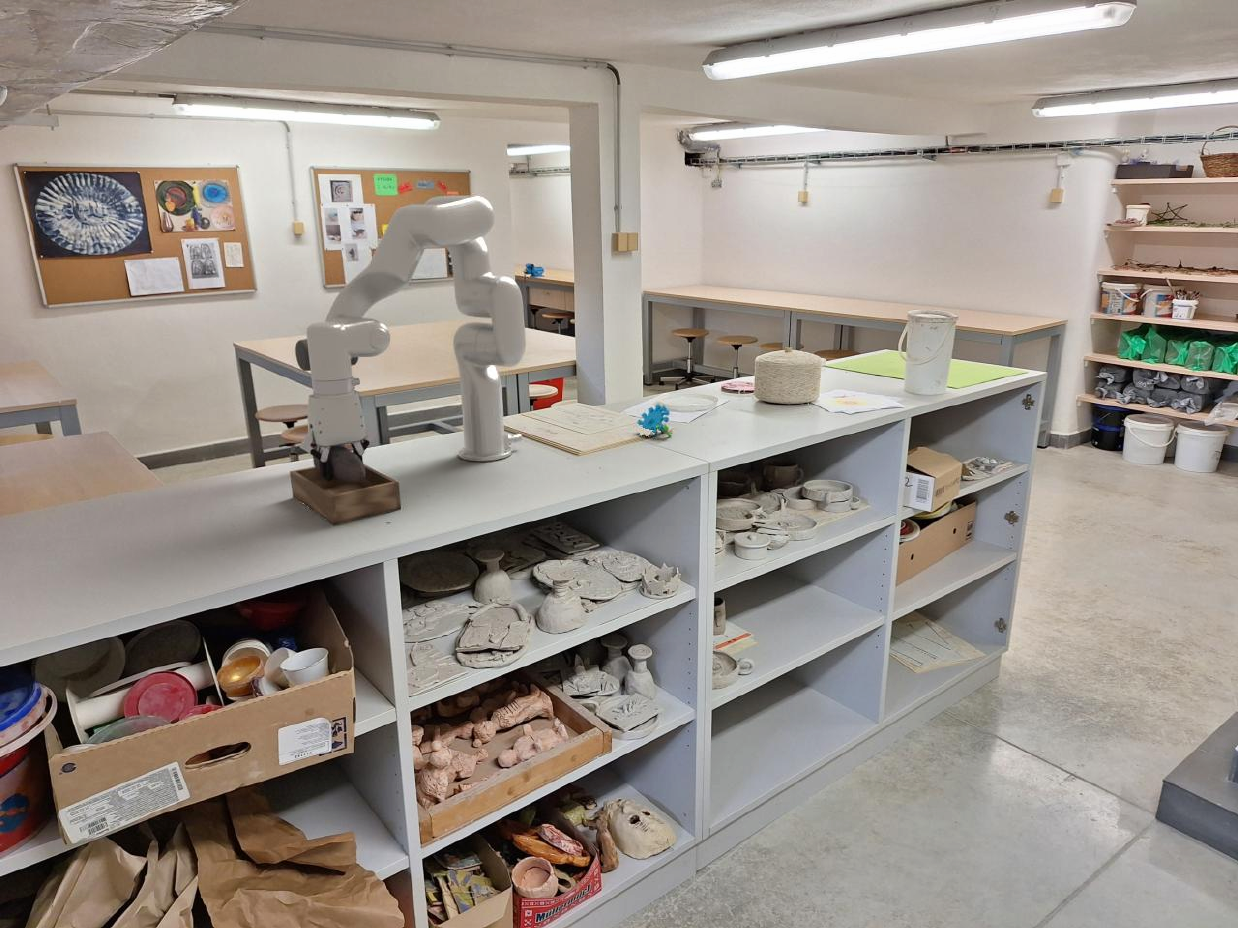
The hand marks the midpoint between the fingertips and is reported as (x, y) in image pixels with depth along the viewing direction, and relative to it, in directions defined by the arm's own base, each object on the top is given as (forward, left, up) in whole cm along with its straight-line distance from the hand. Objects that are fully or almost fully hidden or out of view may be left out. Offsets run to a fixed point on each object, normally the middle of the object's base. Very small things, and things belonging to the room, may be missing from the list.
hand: (342, 475), depth 166 cm
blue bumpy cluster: (-82, +1, -6) cm, 83 cm away
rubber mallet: (-10, -27, -6) cm, 29 cm away
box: (0, 0, -6) cm, 6 cm away
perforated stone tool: (0, 0, -1) cm, 1 cm away
